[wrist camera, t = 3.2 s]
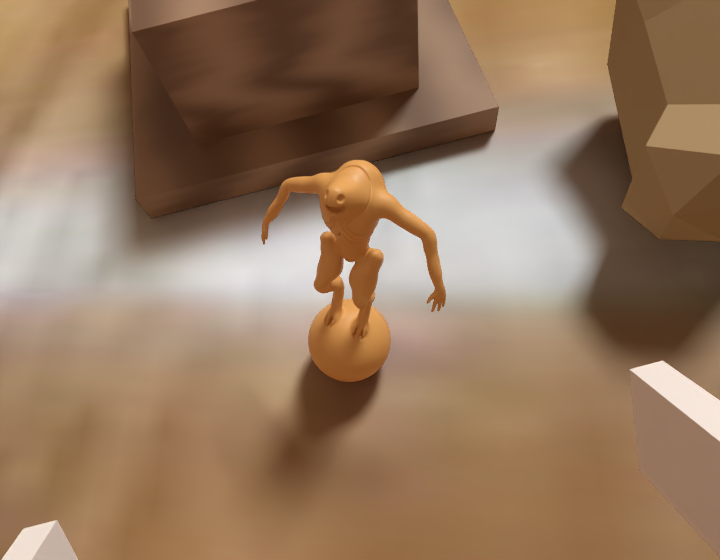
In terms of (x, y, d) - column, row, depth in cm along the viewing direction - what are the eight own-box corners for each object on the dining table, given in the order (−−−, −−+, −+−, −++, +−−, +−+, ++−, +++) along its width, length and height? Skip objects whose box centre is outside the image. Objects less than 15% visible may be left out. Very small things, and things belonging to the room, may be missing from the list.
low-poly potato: (647, 52, 34) (513, 26, 29) (853, -92, 25) (708, -167, 20) (715, 272, 32) (579, 287, 26) (977, 206, 22) (845, 208, 17)
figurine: (267, 354, 28) (168, 239, 17) (321, 262, 30) (263, 107, 19) (412, 422, 25) (402, 338, 15) (459, 316, 27) (481, 175, 17)
